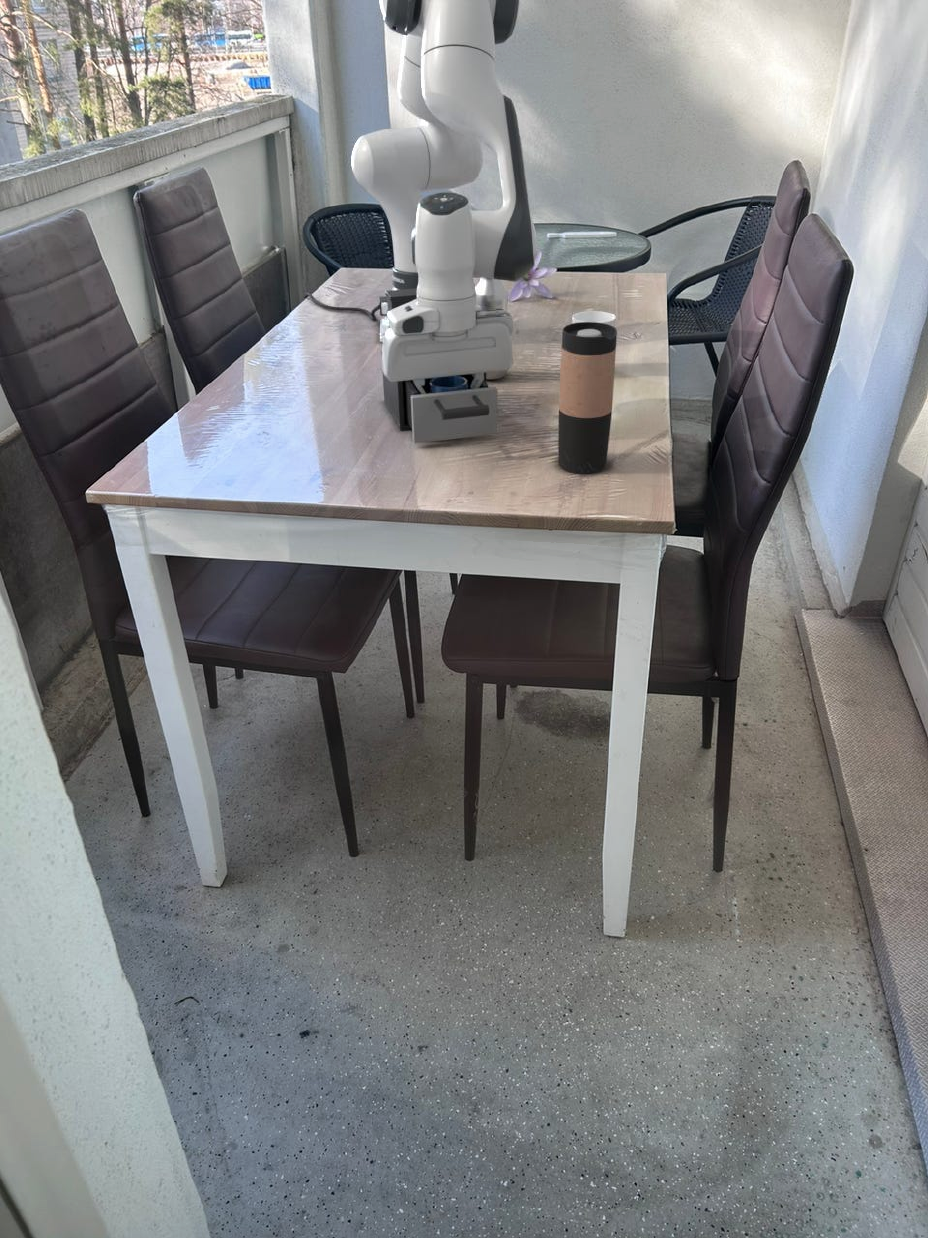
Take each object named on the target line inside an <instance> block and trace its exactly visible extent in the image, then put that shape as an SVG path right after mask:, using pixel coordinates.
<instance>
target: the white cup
mask: <svg viewBox="0 0 928 1238" xmlns="http://www.w3.org/2000/svg"><path fill="white" fill-rule="evenodd" d="M616 321H617V316H616V315H615V314H613V313H610V312H607V311H600V310H586V311H585V310H584V311H580V312H576V313H574V314H573V315H572V316H571V324H573V323H580V322H597V323H604V324H608V325H611V326H613V327H615V328H616Z"/></svg>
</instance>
